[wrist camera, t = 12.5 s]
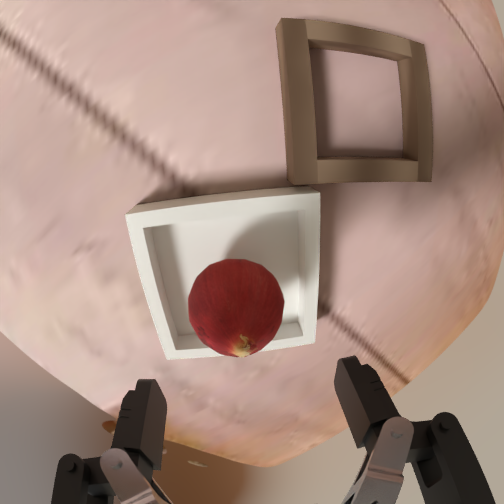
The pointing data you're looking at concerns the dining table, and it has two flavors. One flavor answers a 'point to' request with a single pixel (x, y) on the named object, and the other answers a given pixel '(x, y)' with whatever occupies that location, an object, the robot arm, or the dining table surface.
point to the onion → (235, 307)
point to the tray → (228, 257)
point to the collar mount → (303, 112)
